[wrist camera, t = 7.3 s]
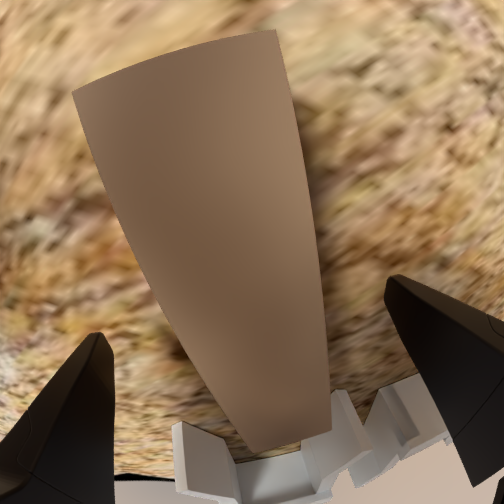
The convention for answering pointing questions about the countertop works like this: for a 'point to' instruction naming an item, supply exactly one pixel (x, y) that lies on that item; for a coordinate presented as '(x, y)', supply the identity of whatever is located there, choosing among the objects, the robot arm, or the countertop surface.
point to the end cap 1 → (270, 463)
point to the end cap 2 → (399, 428)
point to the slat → (222, 224)
